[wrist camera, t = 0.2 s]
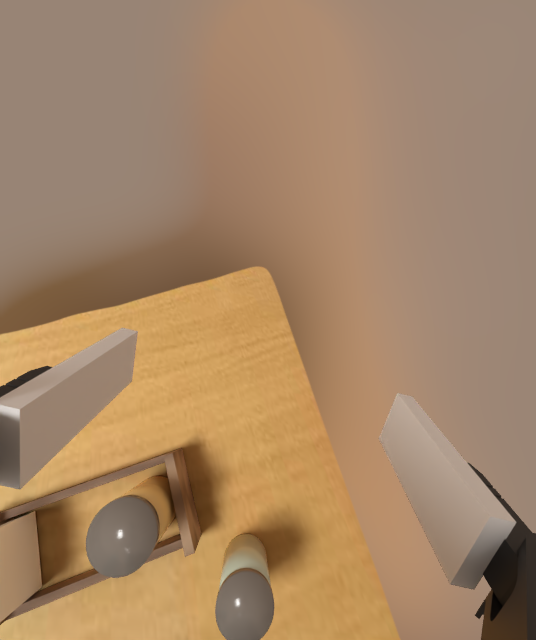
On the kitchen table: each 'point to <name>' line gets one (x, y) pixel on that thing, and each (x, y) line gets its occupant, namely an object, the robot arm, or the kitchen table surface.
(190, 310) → the kitchen table surface
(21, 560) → the plate
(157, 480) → the amber jar
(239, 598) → the sage jar
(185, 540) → the wooden spice rack
